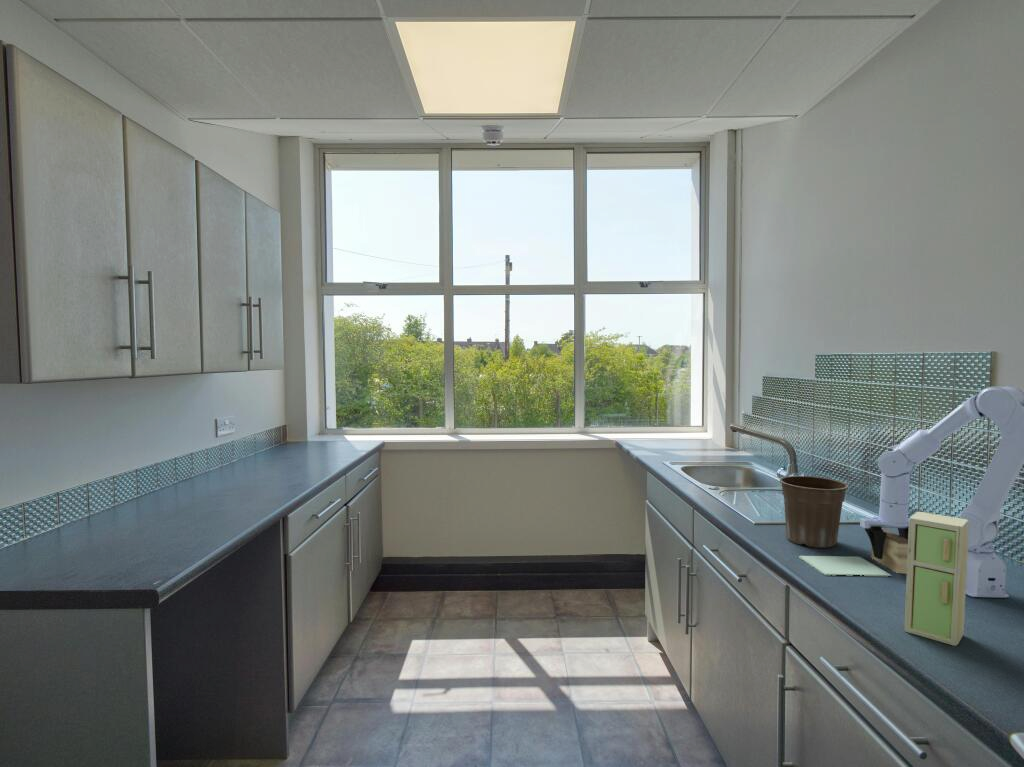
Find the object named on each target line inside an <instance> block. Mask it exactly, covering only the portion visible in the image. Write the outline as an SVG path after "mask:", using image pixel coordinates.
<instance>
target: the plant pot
mask: <svg viewBox="0 0 1024 767" xmlns="http://www.w3.org/2000/svg"><path fill="white" fill-rule="evenodd" d="M779 482H780V483H781V489H782V490H781V491H782V492H781V494H782V496H783V501H784V515H785V516H784V517H785V518H784V519H785V536H786V539H787V540H789V541H790V542H791V543H794V544H796V545H800V546H801V545H805V546H806V547H809V548H817V549H828V548H834V547H835V545H837V544H838V537H839V530H840V522H841V514H842V509H843V508H842V507H843V503H844V502H845V497H846V493H847V490H848V488H849V485H848V484H847V483H846V482H843V481H839V480H836V479H832V478H826V477H820V476H811V475H810V476H809V475H790V476H789V475H788V476H784V477H781V478H779Z"/></svg>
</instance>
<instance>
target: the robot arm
mask: <svg viewBox="0 0 1024 767" xmlns="http://www.w3.org/2000/svg"><path fill="white" fill-rule="evenodd" d="M981 418H982V419H984V418H988V419H989V420H990V421H992V422H993V423H994V424H995V426H996V427H997V429H998V430H999V432H1000V433H1001V434H1002V437H1001V439H1000V441H999V443H998V446H997V447H996V449H995V450H996V451H995V452H994V454H993V456H992V458H991V460H990V463H989V464H988V466H987V469H986V471H985V472H984V475H983V477H982V479H981V481H980V483H979V485H978V487H977V488H976V491H975V493H974V495H973V497H972V499H971V502H970V503H969V504H968V505H967V506H966V508H964V510H963V511H962V513H961V515H960V516H959V518H962V519H967V520H969V532H968V553H967V574H966V596H969V597H972V598H1009V597H1010V596H1009V594H1007V593H1006V580H1007V566H1006V564H1005V562H1004V560H1002V559H1001V558H1000V557H998V555H996V553H995V546H994V544H993V541H995V540H996V539H997V537H998V536H999V533H1000V532H999V521H1000V519H1001V517H1002V516H1001V510H1002V508H1003V506H1004V504H1005V502H1006V500H1007V498H1008V496H1009V494H1010V491H1011V490H1012V488H1013V486H1014V483H1015V482H1016V480H1017V478H1018V476H1019V474H1020V471H1021V470H1022V468H1023V466H1024V391H1023V390H1022V389H1020V388H1018V387H1017V386H1013V385H1003V386H988V387H986V388H984V389H982V390H980V392H979V393H978V394H974V395H972V396H971V397H968V398H967V399H966V400H965V401H964V402H962V403H961V404H959V405H958V406H957V407H956V408H955V409H953V411H951V412H950V413H948V414H947V415H946V416H944V418H941V420H940V421H938V422H937V423H936V424H934V425H933V427H931V428H930V429H918V430H912V431H911V432H909V433H908V435H909V437H908V438H906V439H905V440H903V441H902V442H901V443H899V444H897V443H896V444H895V445H893V446H892V449H893V451H892V450H891V451H890V450H888V451H884V452H883V453H881V455H880V456H879V457H878V459H877V467H878V469H879V471H880V472H881V473H880V474H881V475H880V476H881V477H880V478H881V479H880V492H879V493H880V494H879V512H878V516H874V517H860V519H859V520H860V522H859V526H860V527H861V528H863V529H864V530H865V532H866V535H867V536H868V538H869V541H870V544H871V549H872V548H873V553H874V557H876V558H878V559H882V557H883V547H884V542H885V538H886V536H887V533H886V532H884V531H883V529H897V530H898V532H897V533H898V535H899V536H901V537H903V538H906V539H908V533H909V518H910V517H909V504H910V503H909V501H910V500H909V499H910V478H911V477H910V476H911V473H912V472H913V471H915V469H916V466H918V465H919V464H921V463H922V462H923V461H925V460H926V459H928V458H930V457H931V456H933V455H934V454H935V453H937V452H938V451H939V450H941V449H942V448H941V447H942V441H944V439H946V438H948V437H949V436H950V435H952V434H954V433H955V432H957V431H958V430H960V429H961V428H963V427H964V426H966V425H967V424H969V423H971V422H972V421H974V420H976V419H981ZM908 517H909V518H908Z"/></svg>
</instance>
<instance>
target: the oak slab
mask: <svg viewBox="0 0 1024 767" xmlns="http://www.w3.org/2000/svg"><path fill="white" fill-rule="evenodd" d="M882 529H883V531H884V532H886V533H887V536H886V538H885V542H884V547H883V557H882V559H878V558H876V557H874V553H873V548H872V547H871V554H870V555H871V557H870V559H871V558H872V559H871V560H873V559H874V560H876V561H878V562H879V563H878V562H877V563H878V564H880V563H881V564H882V565H881V564H880V565H881V566H883V565H884V566H883V567H885V566H886V567H885V568H887V567H888V568H889V570H890V569H891V570H890V571H892V570H893V571H892V572H894V573H895V572H896V574H897V573H901V575H902V573H903V575H905V574H906V575H907V557H908V539H906V538H903V537H901V536H899V534H897V533H895V532H892V531H891V530H889V529H887V528H882ZM874 560H873V561H874ZM876 561H875V562H876ZM888 568H887V569H888Z"/></svg>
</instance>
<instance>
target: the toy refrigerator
mask: <svg viewBox="0 0 1024 767" xmlns="http://www.w3.org/2000/svg"><path fill="white" fill-rule="evenodd" d="M968 532H969V520H967V519H962V518H960V517H957V516H956V517H953V516H949V515H943V514H937V513H936V514H935V513H930V512H926V511H916V512H915V513H913V514H912V515H910V517H909V533H908V557H907V574H906V579H905V580H906V582H905V586H906V587H905V605H904V606H905V607H904V609H905V610H904V632H905V633H909V634H912V635H915V636H919V637H923V638H926V639H930V640H933V641H935V642H940V643H944V644H947V645H950V646H953V647H956V646H958V644H959V643H960V641H961V640H962V639H963V636H964V631H965V615H966V614H965V613H966V596H967V594H966V574H967V553H968Z"/></svg>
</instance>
